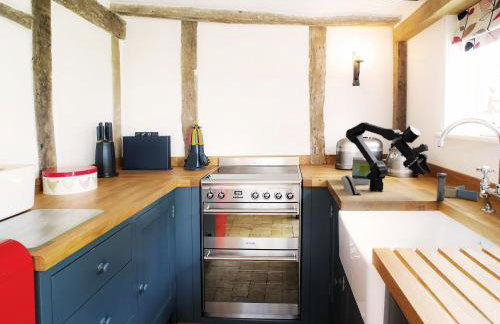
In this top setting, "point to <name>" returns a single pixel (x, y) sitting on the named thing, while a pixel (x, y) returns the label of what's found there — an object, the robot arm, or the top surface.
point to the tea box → (360, 171)
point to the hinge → (349, 185)
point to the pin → (441, 186)
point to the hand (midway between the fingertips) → (427, 173)
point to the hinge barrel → (460, 193)
